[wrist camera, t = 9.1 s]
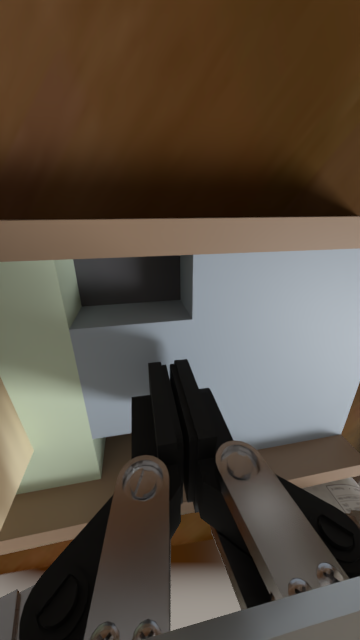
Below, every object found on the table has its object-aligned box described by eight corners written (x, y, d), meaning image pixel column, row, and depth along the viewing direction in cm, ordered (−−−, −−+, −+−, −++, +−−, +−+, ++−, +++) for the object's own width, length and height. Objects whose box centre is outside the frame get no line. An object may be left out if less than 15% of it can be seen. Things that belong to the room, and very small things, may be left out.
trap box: (-186, 221, 9) (-501, 226, 5) (358, 216, 13) (479, 215, 9) (-44, 469, 15) (-123, 582, 10) (306, 412, 19) (363, 474, 14)
